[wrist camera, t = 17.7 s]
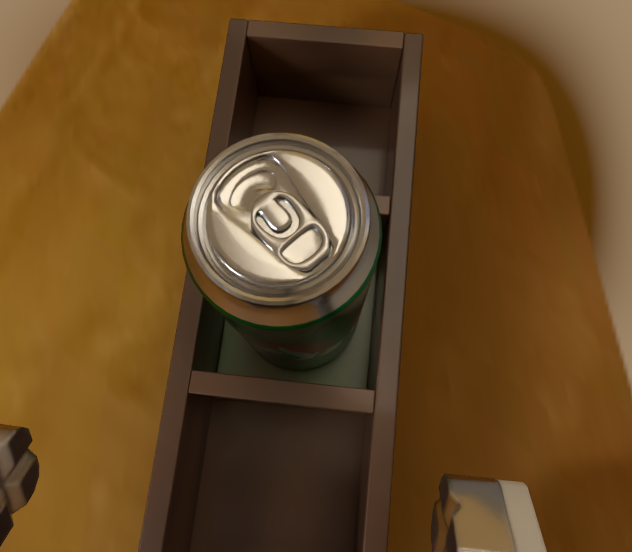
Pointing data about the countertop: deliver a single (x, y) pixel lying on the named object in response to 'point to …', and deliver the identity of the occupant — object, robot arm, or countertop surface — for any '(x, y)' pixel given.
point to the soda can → (284, 245)
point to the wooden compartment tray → (282, 383)
